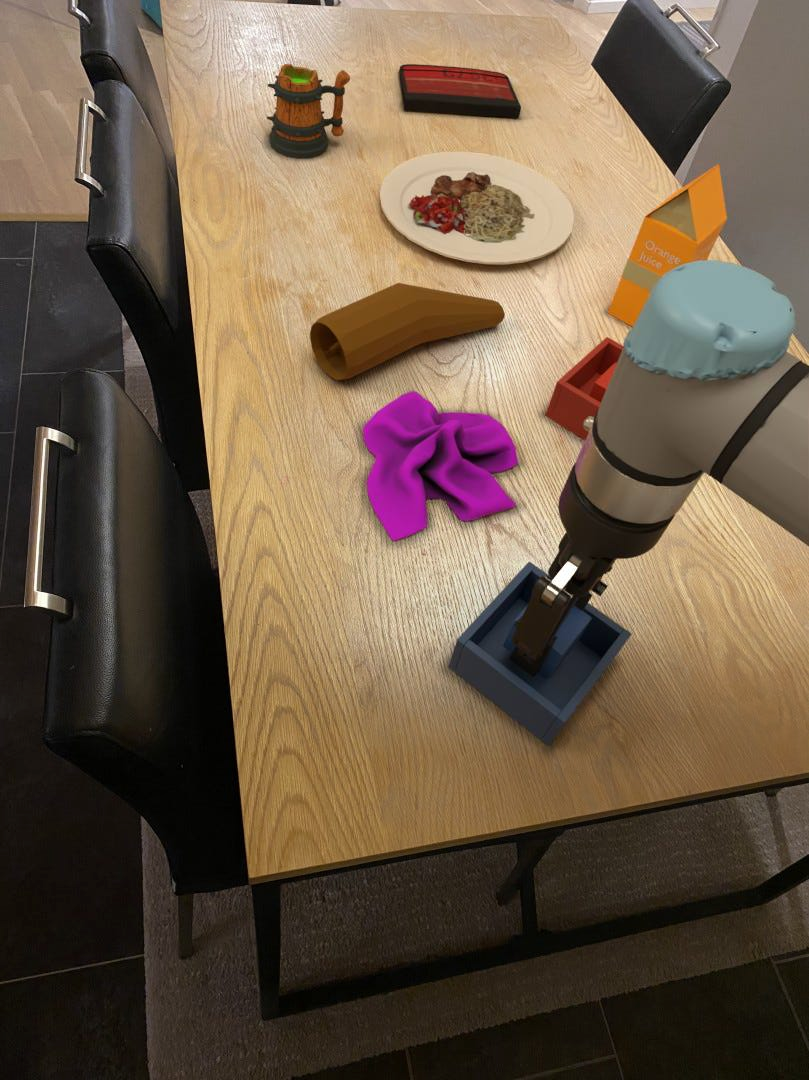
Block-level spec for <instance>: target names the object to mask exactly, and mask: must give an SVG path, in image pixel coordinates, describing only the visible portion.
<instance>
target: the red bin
mask: <svg viewBox="0 0 809 1080" xmlns="http://www.w3.org/2000/svg"><path fill="white" fill-rule="evenodd" d="M623 347H624V345H622V344H621V343H619V342H617V341H616V340H614V339H612V338H611V337H608V336H606V337H605V338H604V339H603V340H602V341H601V342H599V343H598V344H597V345H596V346H595V347H593V349H592V350H590V351H589V352H588V353H587V354H586V355H585V356H583V358H581V360H579V361H578V362H577V363H576V364H574V366H573V367H571V368H570V369H569V370H568V371H567V372H566V373H565V374H563V375H562V376H561V378H559V379H558V380H557V381H556V383H555V386H554V390H553V392H552V395H551V398H550V400H549V403H548V407H547V409H546V412H545V415H544V416H545V417H546V418H549V419H550V420H552V421H553V422H555V423H556V424H558V425H559V426H561V427H563V428H564V429H566V430H568V431H569V432H571V433H572V434H574V435H575V436H577V437H579V438H580V439H582V440H583V441H585V440H586V439H587V436H588V434H589V431H587V430H585V429H584V428H583V423H584V421H585V420H586V419H587V418H588V417H589V416H593V417H595V415H596V412H597V411H598V409H599V407H600V404H601V403H600V402H599V401H597V400H595V399H594V398H592V397H590V396H589V395H590V392H591V390H592V387H593V385H594V382H595V381H596V380H597V379H598V378H599V377H601V376H602V375H603V374H604V373H605V372H606V371H607V370H608V369H609V368H610V367H611V366H612V365H613V364H614V363H615V362H616V363H617V362H618V360H619V357H620V355H621V352H622V350H623Z"/></svg>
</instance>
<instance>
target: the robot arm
mask: <svg viewBox="0 0 809 1080" xmlns="http://www.w3.org/2000/svg"><path fill="white" fill-rule="evenodd" d="M795 327H796V313H795V309H794V306H793V304H792V302H791V300H790V299H789V298H788V296H786V295H785V294H783V293H780V292H778V291H777V285H776V284H775V282H773V281H772V280H771V279H769V278H768V277H767V276H765V275H764V274H761V273H759V272H757V271H755V270H754V269H752V268H748V267H747V266H743V265H741V264H736V263H733V262H730V261H729V262H728V261H722V260H712V259H711V260H709V259H707V260H702V261H693V262H689V263H686V264H682V265H680V266H678V267H676V268H674V269H672V270H670V271H668V272H666V273H665V274H664V275H663V276H662V277H661V278H660V279H659V280H658V282H657V283H656V284H655V286H654V287H653V289H652V291H651V293H650V295H649V297H648V299H647V301H646V303H645V305H644V307H643V309H642V311H641V312H640V314H639V316H638V318H637V320H636V322H635V324H634V326H633V327H631V329H629V330H628V332H627V334H626V336H625V338H624V341H623V343H622V344H623V345H622V346H624V347H623V350H622V352H621V355H620V357H619V360H618V362H617V365H616V367H615V370H614V372H613V374H612V377H611V379H610V382H609V384H608V387H607V389H606V392H605V394H604V397H603V399H602V402H601V404H600V407H599V409H598V411H597V412H596V415H595V417H593V416H589V417H588V418H587V419H586V420H585V421H584V423H583V428H584V429H585V430H587V431H589V434H588V436H587V439H586V440H583V444H582V445H581V448H580V450H579V453H578V455H577V457H576V461H575V462H574V463H573V465H572V467H571V470H570V472H569V473H568V477H567V479H566V481H565V483H564V486H563V488H562V490H561V492H560V495H559V500H558V507H557V508H558V515H559V519H560V521H561V524H562V526H563V528H564V530H565V533H564V535H563V537H562V538H561V540H560V541H559V543H558V546H557V547H558V552H557V554H556V555H555V557H554V559H553V561H552V563H551V564H550V566H549V568H548V571H547V574H548V575H549V576H550V577H548V576H545V577H544V576H542V577H540V578H539V579H537V581H536V582H535V586H534V588H533V592H532V597H531V599H530V601H529V603H528V605H527V607H526V610H525V612H524V614H523V616H522V617H521V618H520V619H519V620H518V621H517V622H516V623H515V624H514V626H515V627H516V628H517V629H516V631H515V633H514V634H513V636H512V639H511V642H512V643H513V644H514V645H516V646H515V648H514V650H513V652H512V654H511V656H510V658H509V659H510V660H511V661H513V662H514V663H515V664H517V665H518V666H519V667H521V668H522V669H523V670H525V671H526V672H527V673H528V674H530V675H531V676H532V677H534V676H535V675H536V674H537V672H538V671H539V669H540V667H541V666H542V664H543V662H544V660H545V659H546V657H547V655H548V653H549V651H550V650H551V648H552V646H553V644H554V643H555V641H556V639H557V637H556V636H555V635H556V633H557V632H558V630H559V629H560V627H561V625H562V624H563V622H564V621H565V619H566V617H567V616H568V614H569V613H570V611H571V609H572V608H573V606H574V605H575V606H576V607H578V608H579V609H580V610H582V611H583V610H584V609H585V607H586V605H587V603H590V600H591V598H592V597H593V594H592V593H591V592H593V593H594V594H595V595H597V596H599V597H601V596H602V595H603V594H604V592H605V591H606V589H607V588H608V587H609V585H608V584H607V583H605V582H603V581H602V579H603V576H604V575H607V574H608V573H610V572H611V571H612V569H613V566H614V564H615V562H616V561H617V560H627V559H632V558H638V557H641V556H643V555H644V554H646V553H648V552H649V551H651V550H652V549H653V548H654V547H655V546H656V545H657V544H658V542H659V541H660V540H661V538H662V536H663V535H664V533H665V531H666V530H667V529H668V527H669V525H670V524H671V522H672V521H673V519H674V518H675V516H676V514H677V513H679V511H680V510H681V508H682V507H683V505H684V504H685V503H686V502H687V499H688V498H689V496H690V495H691V493H692V492H693V490H694V489H695V487H696V486H697V484H698V483H699V482H700V480H701V478H702V477H703V475H704V474H706V475H707V476H709V477H711V478H712V479H714V480H715V481H717V482H718V483H719V484H720V485H722V486H724V487H725V488H727V489H728V490H730V491H731V492H732V493H733V494H735V495H736V496H738V497H739V498H741V499H742V500H743V501H745V502H746V503H747V504H749V505H751V507H753V508H754V509H756V510H757V511H758V512H760V513H761V514H762V515H764V516H765V517H766V518H768V519H770V520H771V521H773V522H774V523H776V524H777V525H778V526H780V527H781V528H782V529H784V530H785V531H787V532H788V533H789V534H791V535H792V536H793V537H795V538H796V539H798V540H799V541H801V542H802V543H803V544H805V545H806V546H807V547H809V365H808V364H807V363H805V362H803V360H801V359H800V358H798V357H796V356H795V355H793V354H791V353H790V352H788V350H789V348H790V347H789V346H790V342H791V337H792V336H793V333H794V331H795Z"/></svg>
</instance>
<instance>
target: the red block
mask: <svg viewBox="0 0 809 1080" xmlns="http://www.w3.org/2000/svg"><path fill="white" fill-rule="evenodd" d="M616 365H617V363H616V362H615V363H614V364H613V365H612V366H611V367H610V368H609V369H608V370H607V371H606V372H605V373H604V374H603V375H602V376H601V377H599V378H598V379H597V380H596V381H595V382H594V385H593V387H592V390H591V392H590V395H589V396H590V397H592V398H594V399H595V400H597V401H599V402H600V403H601V402H602V399H603V397H604V394H605V392H606V389H607V387H608V384H609V382H610V379H611V377H612V374H613V372H614V370H615V367H616Z"/></svg>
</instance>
